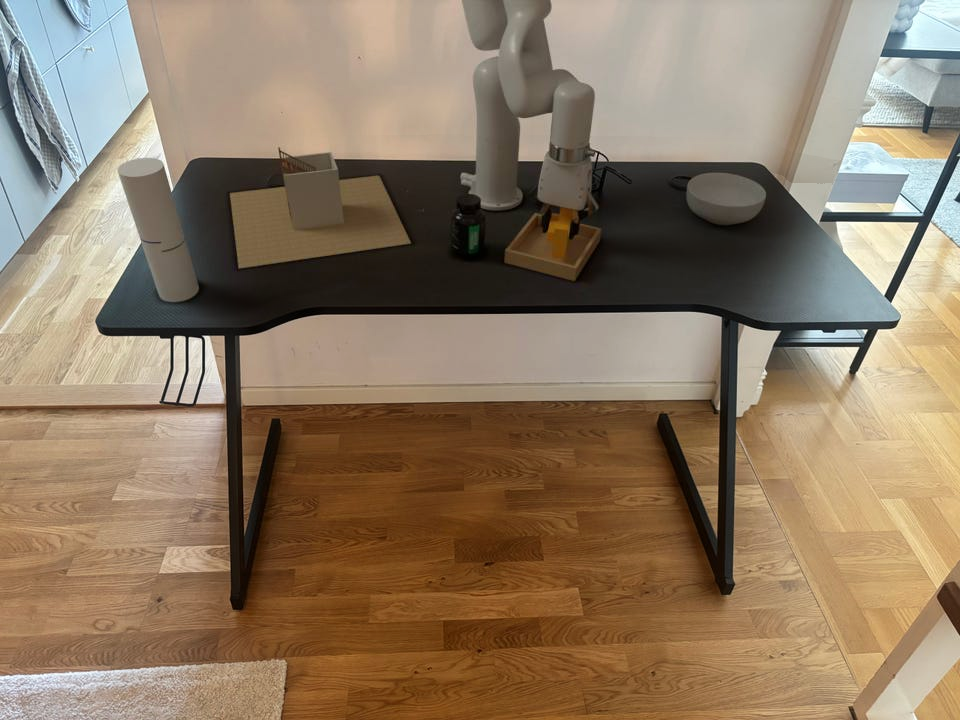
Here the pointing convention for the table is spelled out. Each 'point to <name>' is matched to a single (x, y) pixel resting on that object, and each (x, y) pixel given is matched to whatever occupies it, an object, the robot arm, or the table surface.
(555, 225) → the yellow stepped block
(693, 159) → the table surface
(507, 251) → the tray
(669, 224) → the table surface
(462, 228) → the supplement bottle
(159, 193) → the cylindrical container
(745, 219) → the cereal bowl
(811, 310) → the table surface
